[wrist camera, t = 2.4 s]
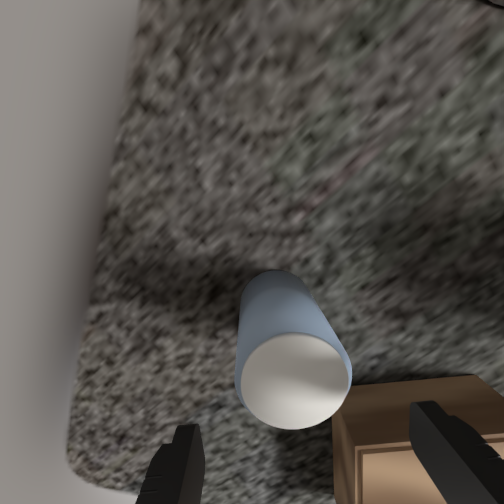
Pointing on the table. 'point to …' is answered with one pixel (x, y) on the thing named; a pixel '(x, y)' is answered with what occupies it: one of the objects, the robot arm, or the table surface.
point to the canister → (288, 354)
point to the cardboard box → (402, 437)
